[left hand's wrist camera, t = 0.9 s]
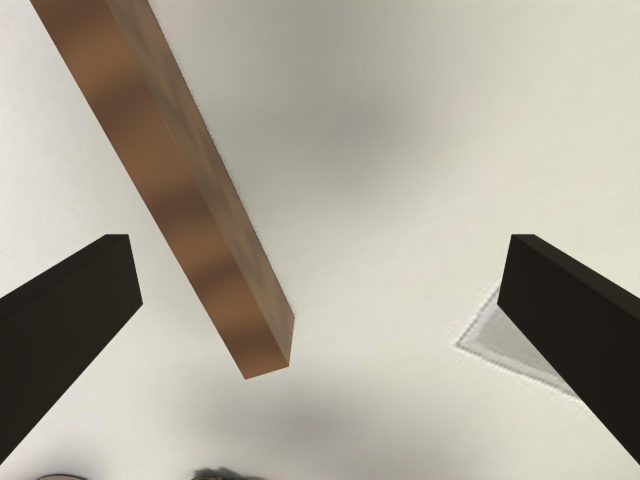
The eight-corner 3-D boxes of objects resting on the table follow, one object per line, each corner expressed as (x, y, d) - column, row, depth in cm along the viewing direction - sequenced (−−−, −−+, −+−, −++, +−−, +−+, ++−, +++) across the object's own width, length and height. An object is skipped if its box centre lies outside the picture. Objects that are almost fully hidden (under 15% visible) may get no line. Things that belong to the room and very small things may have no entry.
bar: (90, 1, 30) (9, -36, 22) (137, -22, 30) (71, -67, 22) (259, 328, 42) (245, 379, 34) (294, 317, 42) (289, 366, 34)
